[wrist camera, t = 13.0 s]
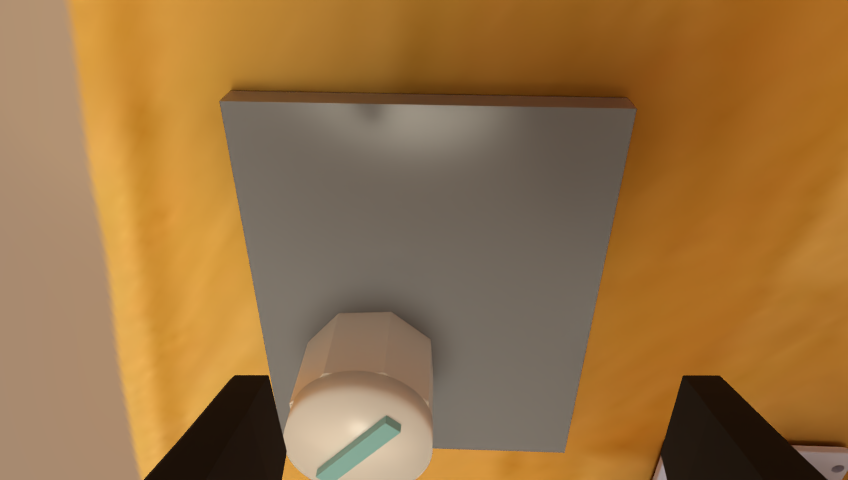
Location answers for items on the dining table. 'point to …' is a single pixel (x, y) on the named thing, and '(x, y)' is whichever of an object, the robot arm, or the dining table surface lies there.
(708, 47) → the dining table surface
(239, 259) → the dining table surface
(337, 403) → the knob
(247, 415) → the robot arm
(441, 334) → the board
